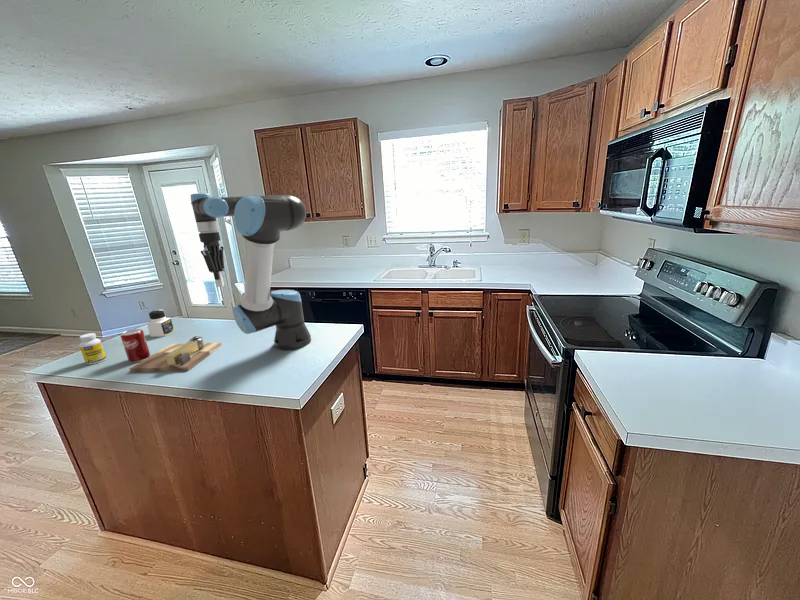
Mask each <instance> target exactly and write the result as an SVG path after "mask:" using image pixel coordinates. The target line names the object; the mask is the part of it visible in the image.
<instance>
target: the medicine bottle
mask: <svg viewBox="0 0 800 600" xmlns="http://www.w3.org/2000/svg"><path fill="white" fill-rule="evenodd" d="M148 316H149V319H150V321H149V322H147V323H146V325H147V329H148V330H147V331H148V332H149V335H150V338H156V337H157V338H160V337H161V338H162V337H166V336H168V335H169V334H171V333H173V332H175V329H174V325H173V321H172V318H171V317H166V313H165V310H163V309H156V310H152V311H150V312H149V313H148Z"/></svg>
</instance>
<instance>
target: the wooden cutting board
mask: <svg viewBox="0 0 800 600" xmlns="http://www.w3.org/2000/svg"><path fill="white" fill-rule="evenodd" d="M183 344H184V343H170V344H168V345H167V346H165V347H163V348H162V349H160V350H158V351H157V352H156V353H154V354H150V357H148V358H146V359H145V360H143V361H141V362H137V364H135V365H133V366H131V367H130V368H129V371H130V373H146V372H147V373H151V372H154V373H155V372H189V371H191V370H192V369H194V367H196V366H197V365H199V363H201V362H202V361H204V360H205V359H206V358H207V357H209V356H210V355H212V354H213V353H215V351H216V350H218V349H220V348H221V347H222V346H223V345H222V342H204V347H203V348H201V349H199V350H197V351H196V352H194V353H193V354H191V355H189V353H184V354H183V355H181V356H180V357H178V359H179V363H178V364H177V365H168V362H167V359H166V355H167V354H169V353H170V352H172V351H174V350H175V349H177V348H179V347H180V346H182V345H183ZM216 352H217V351H216Z"/></svg>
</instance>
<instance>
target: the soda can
mask: <svg viewBox="0 0 800 600" xmlns="http://www.w3.org/2000/svg"><path fill="white" fill-rule="evenodd" d="M120 339H121V342H122V345H123V349H124V351H125V354H126V357H127V361H128V362H130V363H131V364H132V363H134V364H135V363H140V362H141V361H143V360H145V359H146V358H148V357H150V356H151V352H150V349H149V345H148V343H147V340H146V337H145V332H144V330H143V329H142V328H135V329H130V330H126V331H124V332H121V334H120Z"/></svg>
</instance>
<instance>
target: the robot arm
mask: <svg viewBox="0 0 800 600" xmlns="http://www.w3.org/2000/svg"><path fill="white" fill-rule="evenodd" d="M190 204H191V207H192V211H193V215H194V218H195V223H196V227H197V231H198V232H199V233H198V237H199V241H200V243H203V249H202V250H200V254H201V255H202V257H203V259H204V262H205V265H206V266H207V269H208V271H209V273H212V274H213V278H214V280H215V281H214V282H215V285H216V288H222V287H223V288H224V287H225V282H224V281H225V280H224V278H223V272H224V271H225V262H224V261H225V259H224V246H223V245H222V246H220V243H219V241H221V235H220V232H219V226H218V223H217V222H218V221H217V218H224V217H225V218H226V217H233V219H234V221H235V223H234V224H235V228H236V230H237V231H238V232H239V234H240V235H241V236H242V237H243V239H244V240H245V241H246V246H245V248H246V250H245V269H244V270H245V271H244V272H245V277H244V294H242V295H241V297H240V298H239V304H237V305H234V306H233V307H232V314H233V318H234V321H235V323H236V326H237V327H238V328H239V330H240V331H241V332H242V333H244V334H246V335H248V334H249V335H250V334H253V333H257V332H260V331H263V330H265V329H269V328H271V327H274V326H275V333H274V337H273V338H274V340H273V344H274V347H275V349H277V350H282V351H283V350H284V351H287V350H289V351H290V350H295V349H300V348H302V347H305V346H306V345H308V344H309V343H310V342H311V341H312V336H311V333H310V331H309V329H308V328H307V325H306V324H305V318H304V311H303V304H302V301H303V300H302V297H301V294H300V292H299V291H297V290H292V289H278V290H277V289H276V290H272V291H271V284H272V273H273V263H274V261H273V260H274V249H275V245H276V244H277V243H278V242H279V241H280V237H281V232H286V231H287V232H288V231H293V230H296V229H298V228H300V227H301V226H302V225H303V224H304V223H305V220H306V218H307V209H306V206H305V204H304V202H303V201H302V200H301V199H299V198H298V197H296V196H295V195H290V194H278V195H277V194H276V195H275V194H273V195H256V194H255V195H246V196H245V195H244V196H243V195H242V196H222V197H221V196H219V197H218V196H212V195H211V194H210V193H207V192H204V193H201V192H200V193H191V194H190ZM270 291H271V292H270Z"/></svg>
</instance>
